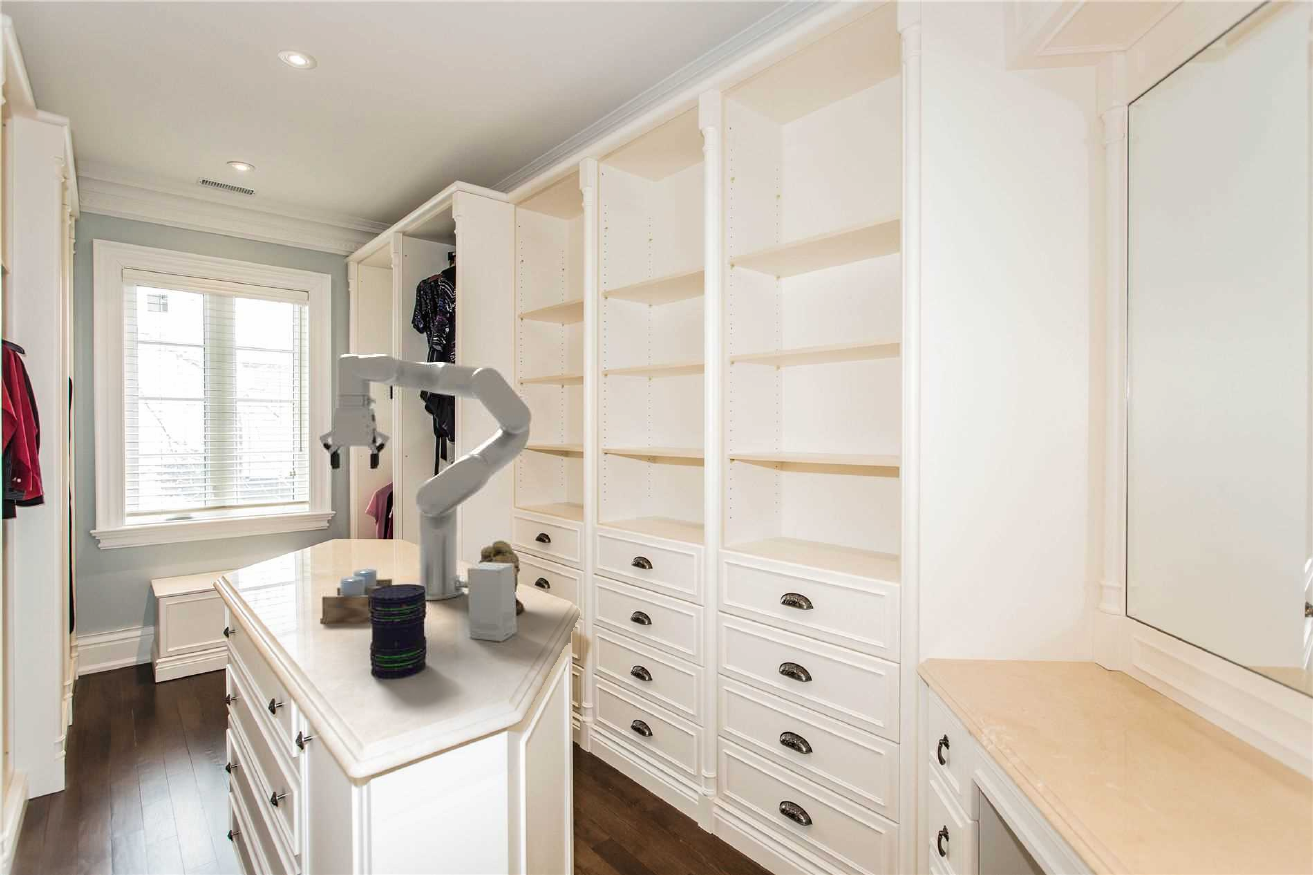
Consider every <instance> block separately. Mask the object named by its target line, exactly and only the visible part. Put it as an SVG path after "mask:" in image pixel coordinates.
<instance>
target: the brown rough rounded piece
mask: <svg viewBox="0 0 1313 875" xmlns="http://www.w3.org/2000/svg"><path fill="white" fill-rule="evenodd" d="M519 559H520V558H519V556H518V554H517V553H515V551H514V550H513V548H512V546H511V544H510V543H508V542H506V541H504V540H497V541H494V542H493V543H492V545H488V546H486V547H483V548H482V549H481V550H480V560H479V562H478V564H480V563H482V562H492V563H510V564H514V573H515V600H516V617H518V616H520V615H522V614H523V613H524V611H525V610H524V609H525V608H524V603H523V602H521V601H520V600H519V599H518V598H517V594H516V593H517V589H518V588H517V587H518V585H519V582H518V581H519V580H518V575H519V573H520V571H521V568H520V562H519V561H520V560H519ZM521 613H522V614H521Z"/></svg>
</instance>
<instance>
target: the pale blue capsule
mask: <svg viewBox="0 0 1313 875" xmlns="http://www.w3.org/2000/svg"><path fill="white" fill-rule="evenodd" d="M353 577H364V578H365V587H377V579H378V578H377V569H373V568H365V569H359V570H355V571H353Z"/></svg>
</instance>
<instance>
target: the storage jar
mask: <svg viewBox="0 0 1313 875" xmlns="http://www.w3.org/2000/svg"><path fill="white" fill-rule="evenodd" d="M370 598H371V601H370V605H371V606H370V622H369V623H370V624H371V640H372V641H371V643H370V644H369V646H370V647H369V649H370V655H369V660H370V666H371V669H370V675H371V676H372V677H374V678H376V679H378V680H397V679H398V680H399V679H405V678H409V677H413V676H416V675H418V674H421V673H422V672H424V671H425V669H426V668H425V667H427V661H426V658H427V656H426V655H427V642H428V640H427V637H426V636H425V620H426V617H427V609H426V608H427V600H425V587H424V586H421V585H420V584H415V583H413V584H412V583H404V584H403V583H399V584H392V585H390V586H385V587H381V588H377V589H375V590H373V591H371V593H370Z"/></svg>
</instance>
